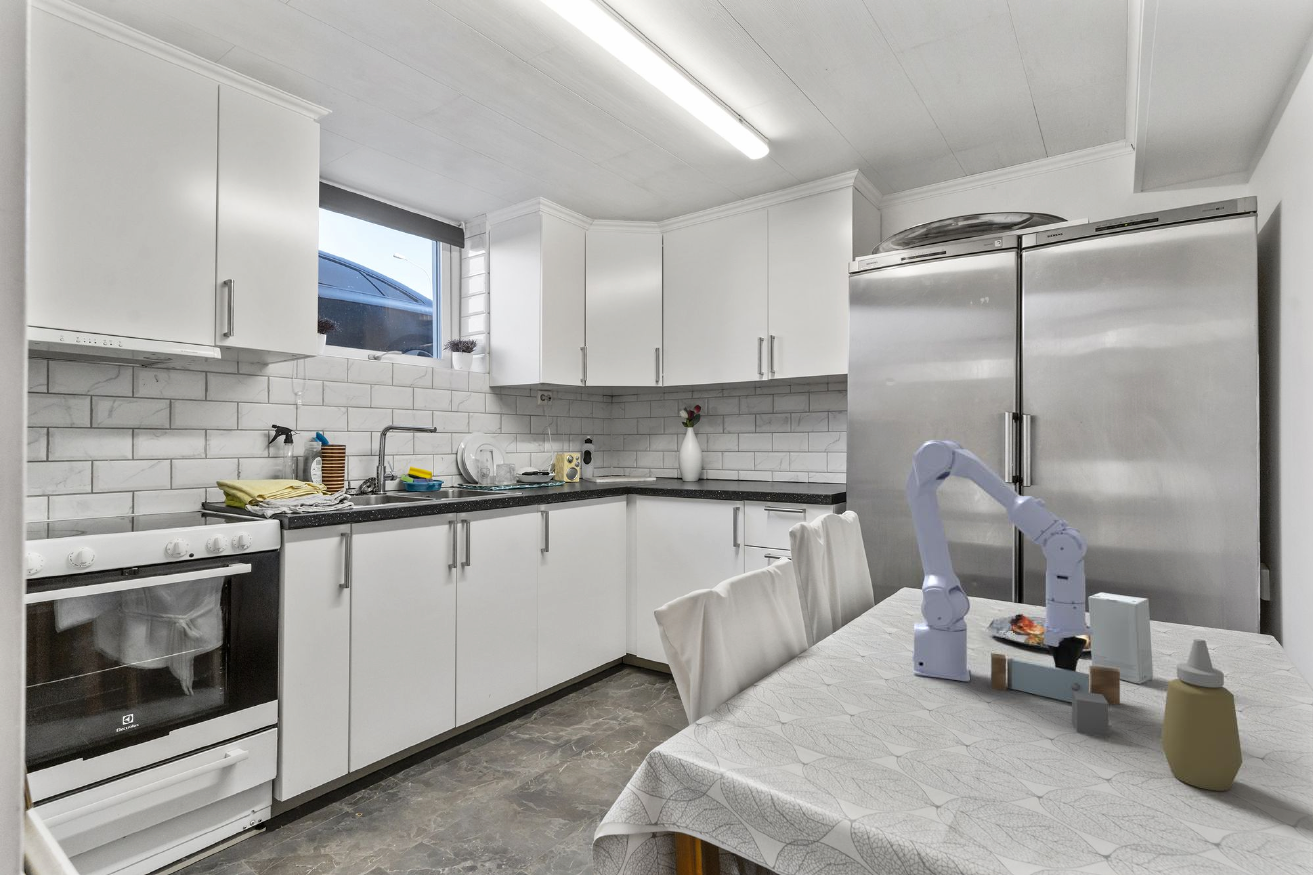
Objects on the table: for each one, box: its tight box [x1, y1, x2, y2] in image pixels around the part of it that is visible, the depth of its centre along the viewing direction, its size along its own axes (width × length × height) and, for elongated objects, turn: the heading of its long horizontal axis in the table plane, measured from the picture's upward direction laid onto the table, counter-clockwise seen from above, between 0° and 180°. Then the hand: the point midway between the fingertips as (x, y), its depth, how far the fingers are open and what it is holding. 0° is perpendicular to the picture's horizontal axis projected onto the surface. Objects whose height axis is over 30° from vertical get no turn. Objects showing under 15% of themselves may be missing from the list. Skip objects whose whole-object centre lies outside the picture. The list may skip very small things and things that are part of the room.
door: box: [1006, 657, 1090, 703], centre depth 112 cm, size 12×2×5 cm, turn 48°
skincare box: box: [1088, 591, 1154, 685], centre depth 123 cm, size 8×6×15 cm
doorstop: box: [1071, 691, 1110, 738], centre depth 99 cm, size 4×4×5 cm
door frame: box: [990, 652, 1121, 706], centre depth 113 cm, size 19×2×6 cm, turn 66°
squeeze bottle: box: [1160, 638, 1243, 792], centre depth 84 cm, size 8×8×18 cm
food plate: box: [986, 613, 1091, 654], centre depth 145 cm, size 25×23×4 cm
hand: (1065, 679), depth 111 cm, fingers closed, pressing on door
